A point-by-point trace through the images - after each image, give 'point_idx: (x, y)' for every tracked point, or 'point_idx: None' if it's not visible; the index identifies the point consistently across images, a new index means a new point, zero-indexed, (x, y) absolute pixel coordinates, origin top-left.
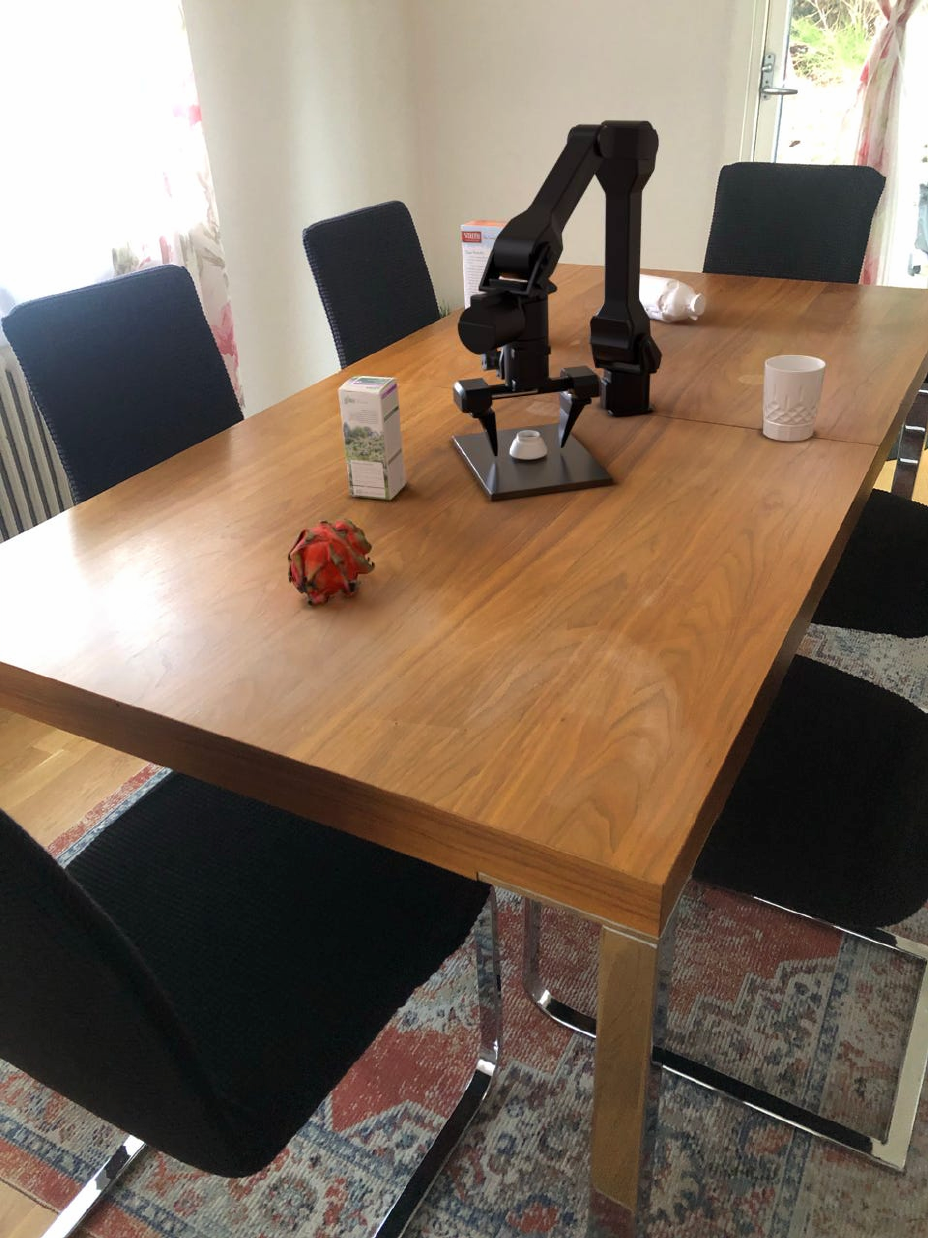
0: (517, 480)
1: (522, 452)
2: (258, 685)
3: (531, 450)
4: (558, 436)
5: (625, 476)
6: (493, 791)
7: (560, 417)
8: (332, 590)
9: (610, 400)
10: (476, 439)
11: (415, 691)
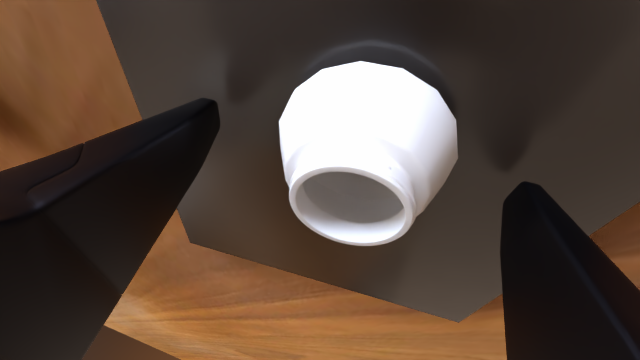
0: (257, 235)
1: (307, 190)
2: None
3: (336, 213)
4: (532, 217)
5: None
6: (181, 356)
7: (584, 328)
8: None
9: None
10: None
11: (141, 328)
